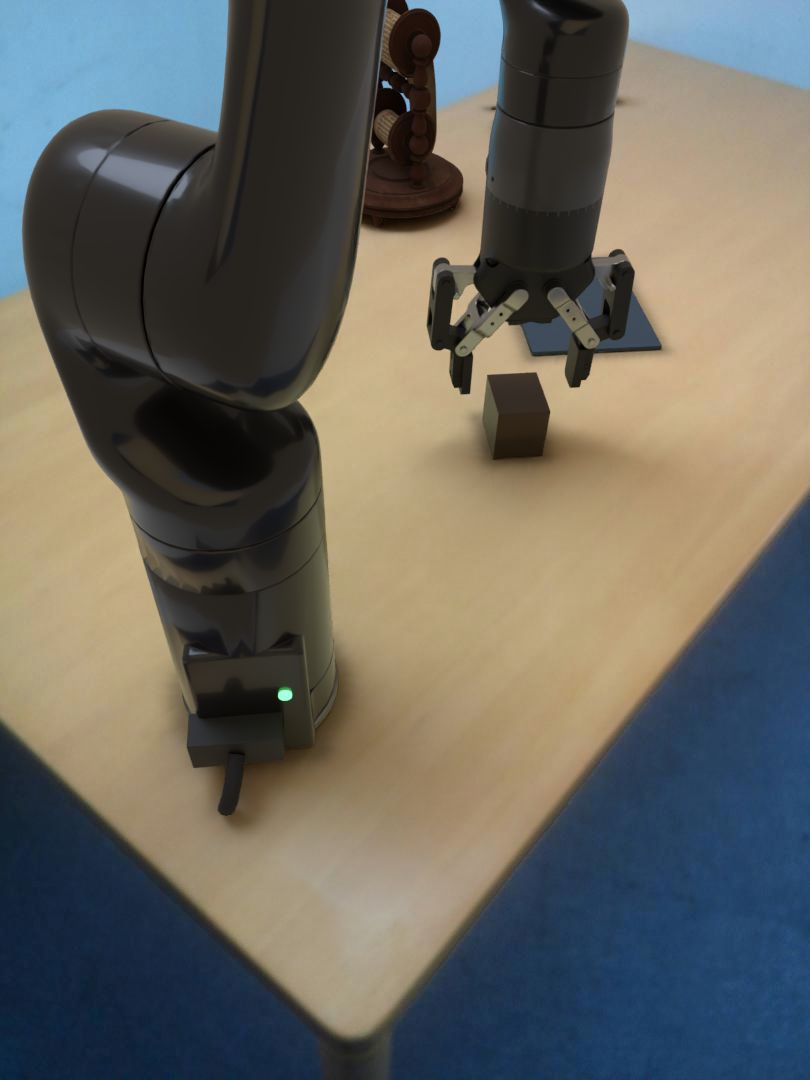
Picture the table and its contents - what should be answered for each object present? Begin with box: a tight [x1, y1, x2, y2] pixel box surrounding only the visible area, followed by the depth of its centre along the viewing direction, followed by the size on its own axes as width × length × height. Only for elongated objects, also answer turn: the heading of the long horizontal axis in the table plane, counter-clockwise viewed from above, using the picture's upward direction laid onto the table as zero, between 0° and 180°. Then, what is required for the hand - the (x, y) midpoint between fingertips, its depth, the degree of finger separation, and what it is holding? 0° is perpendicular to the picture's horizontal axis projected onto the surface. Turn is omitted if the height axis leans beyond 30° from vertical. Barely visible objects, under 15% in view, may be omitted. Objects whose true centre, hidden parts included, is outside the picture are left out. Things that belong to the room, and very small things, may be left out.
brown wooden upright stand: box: [362, 0, 464, 228], centre depth 91 cm, size 15×15×20 cm
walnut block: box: [481, 371, 551, 460], centre depth 69 cm, size 5×4×4 cm
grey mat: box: [520, 256, 663, 356], centre depth 84 cm, size 16×12×1 cm
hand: (518, 384), depth 67 cm, fingers open, 8 cm apart
